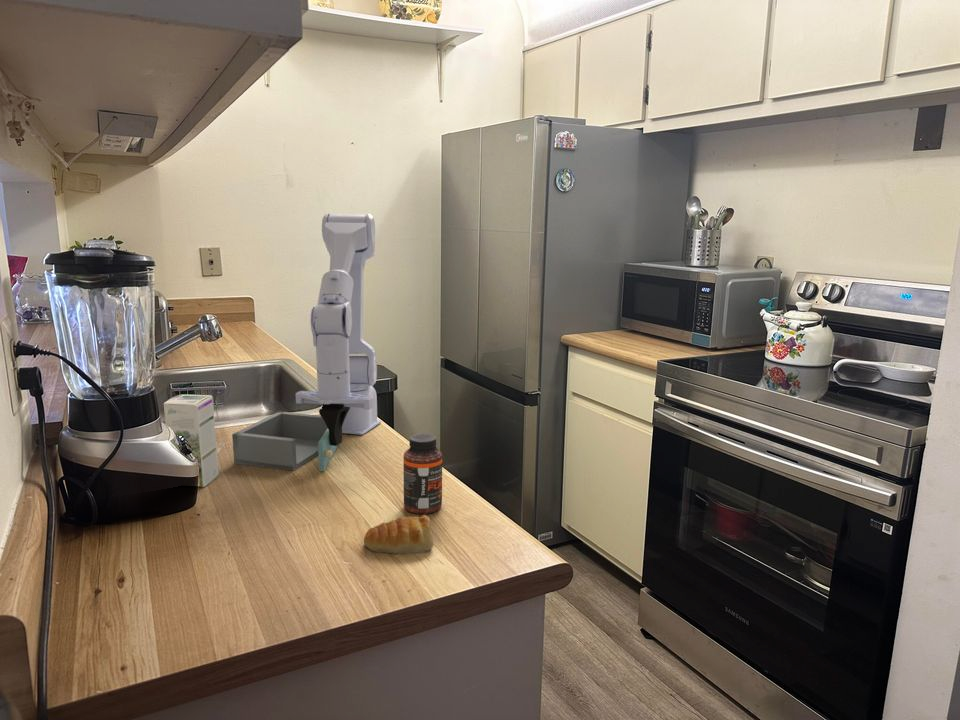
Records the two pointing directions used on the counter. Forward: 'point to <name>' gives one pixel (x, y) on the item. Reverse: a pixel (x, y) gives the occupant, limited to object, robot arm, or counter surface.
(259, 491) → the counter surface
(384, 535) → the pastry
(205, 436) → the syrup box
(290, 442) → the grey open box
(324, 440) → the door
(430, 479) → the supplement bottle
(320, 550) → the counter surface
